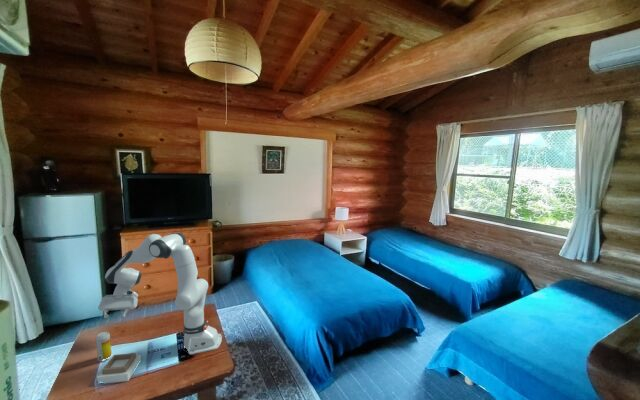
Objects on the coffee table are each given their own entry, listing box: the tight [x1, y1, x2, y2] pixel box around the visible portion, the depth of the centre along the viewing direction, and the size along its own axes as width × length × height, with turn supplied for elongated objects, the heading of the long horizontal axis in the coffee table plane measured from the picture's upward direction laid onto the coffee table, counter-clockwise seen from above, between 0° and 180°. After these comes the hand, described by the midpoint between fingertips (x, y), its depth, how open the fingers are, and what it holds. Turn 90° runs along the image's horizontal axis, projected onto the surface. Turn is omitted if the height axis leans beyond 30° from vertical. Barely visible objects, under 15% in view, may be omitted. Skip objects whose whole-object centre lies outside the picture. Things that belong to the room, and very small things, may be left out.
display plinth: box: [96, 352, 142, 384], centre depth 145 cm, size 14×14×6 cm
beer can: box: [95, 331, 112, 362], centre depth 154 cm, size 6×6×15 cm
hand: (114, 317), depth 164 cm, fingers open, 8 cm apart
